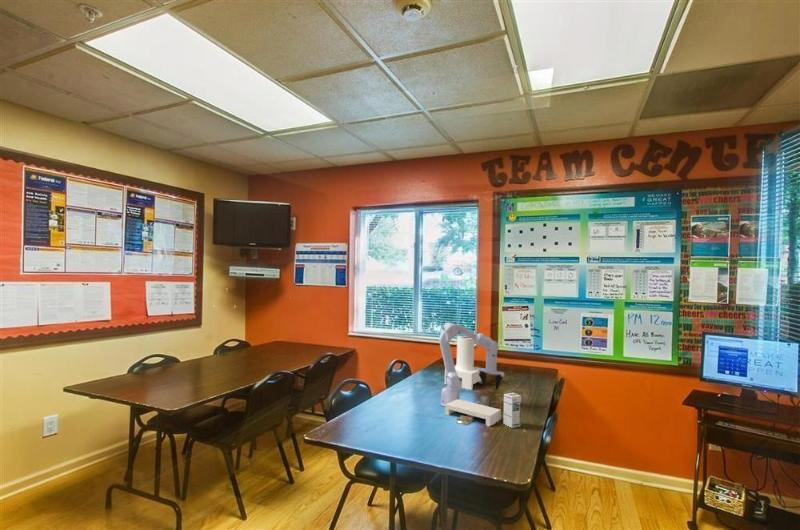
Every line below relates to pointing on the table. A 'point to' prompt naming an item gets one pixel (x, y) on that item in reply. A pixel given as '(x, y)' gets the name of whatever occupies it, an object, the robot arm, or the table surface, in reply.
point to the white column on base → (466, 363)
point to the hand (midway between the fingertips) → (490, 387)
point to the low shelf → (474, 410)
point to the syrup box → (512, 410)
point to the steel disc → (462, 421)
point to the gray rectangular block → (483, 402)
